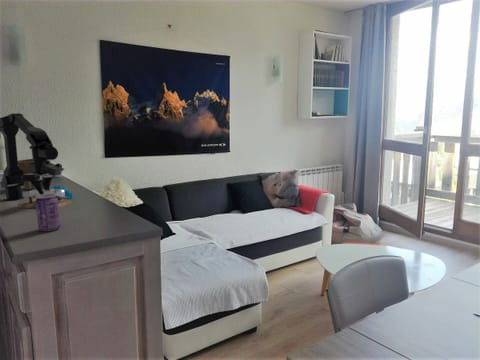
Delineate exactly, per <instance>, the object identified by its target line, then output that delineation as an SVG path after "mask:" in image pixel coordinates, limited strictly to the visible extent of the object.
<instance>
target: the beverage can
mask: <svg viewBox="0 0 480 360" xmlns="http://www.w3.org/2000/svg"><path fill="white" fill-rule="evenodd" d="M35 199H36V202H35V204H36V208H35V212H36V218H37V226H38V231H42V232H46V231H47V232H54V231H56V230H58V229H59V228H61V227H62V223H61V222H62V221H61V216H60V214H61V213H60V208H59V205H58V198H56V195H55V194H47V195H40V196H37V197H36V198H35Z"/></svg>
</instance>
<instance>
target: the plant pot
mask: <svg viewBox="0 0 480 360" xmlns="http://www.w3.org/2000/svg"><path fill="white" fill-rule="evenodd" d="M47 161H49V160H47ZM31 162H33V158H28V159H27V158H25V159H20V160H18V166H19V168H20V169H21V170H23V175H24V174H29V173H32V171H34V165H33V164H31ZM23 189H24V190H26V191H31V190H37V189H36V188H35V187H34V185H33V184H32V183H31V182H29V181H24V186H23ZM43 190H44V187H43Z"/></svg>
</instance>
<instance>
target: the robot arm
mask: <svg viewBox="0 0 480 360" xmlns="http://www.w3.org/2000/svg"><path fill="white" fill-rule="evenodd" d="M19 129H20V130H21V131H22V133H24V134H25V139H26V141H27V142H28V143H29V144H30V145H29V149H30V150H31V155H32V159H33V162H31V164H33V165H34V171H32V173H29V174H24V175H23V170H21V169H20V168H19V166H18V161H19V160H18V151H17V150H18V149H17V140H16V139H17V138H16V136H17V134H18V132H19ZM0 133H1V135H2V136H3V142H4V152H5V161H6V163H5V164H6V166H5V169H4V170H3V176H2V179H1V181H0V187H1V189H5V190H4V191H5V197H6V198H4V199H3V200H4V201H17V200H20V199H21V200H22V199H24V198H25V196H24V195H23V190H22V187H24V181H29V182H31V183H32V184H33V185H34V187H35V188H36V189H37V191H38V192H39V194H40V195H42V194H43V190H50V187H51V183H52V181H53V180H54V179H55V178H56V176H59V175H61V172H62V171H63V166H62V165H63V164H62V163H59V162H58V163H56V164H52V163H51V161H54V160H56V159H57V158H58V156H59V151H58V149H57V148H56V147H54V146H53V143H52V139H50V137H49V135H48V133H47V132H46V131H45V130H44V129H42V128H40V127H36V126H34V124H33V123H31V122H30V121H29V120H28V119H26V118H25V116H24V115H23V113H18V112H17V113H9V114H8V115H5V116H3V117H0ZM47 160H48V161H47ZM21 186H22V187H21ZM43 187H44V189H43Z"/></svg>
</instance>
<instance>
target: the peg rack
mask: <svg viewBox="0 0 480 360" xmlns="http://www.w3.org/2000/svg"><path fill="white" fill-rule="evenodd" d="M36 199H37V198H32V196H30V195H29V196H28V200H27V201H24V202H20V203H18V204H17V207H18V208H20V209H21V208H24V209H25V208H26V209H27V208H29V209H34V208H35V209H36V204H35V202H36ZM57 199H58V205H59V209H60V208H63V207H64V206H67V205H71V204H72V203H73V198H70V199H69V198H67V199H63V198H57Z"/></svg>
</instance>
